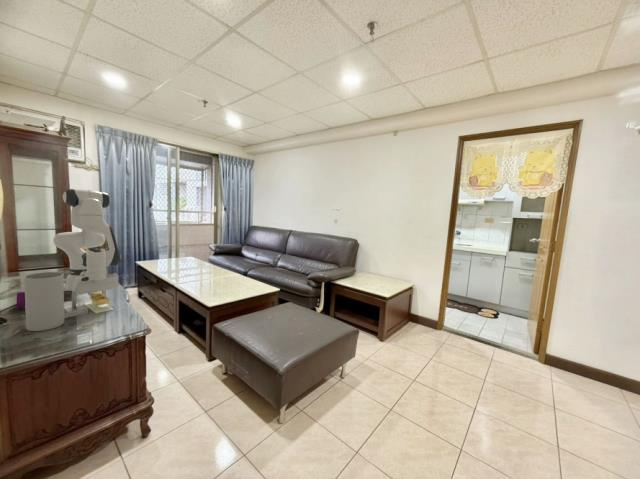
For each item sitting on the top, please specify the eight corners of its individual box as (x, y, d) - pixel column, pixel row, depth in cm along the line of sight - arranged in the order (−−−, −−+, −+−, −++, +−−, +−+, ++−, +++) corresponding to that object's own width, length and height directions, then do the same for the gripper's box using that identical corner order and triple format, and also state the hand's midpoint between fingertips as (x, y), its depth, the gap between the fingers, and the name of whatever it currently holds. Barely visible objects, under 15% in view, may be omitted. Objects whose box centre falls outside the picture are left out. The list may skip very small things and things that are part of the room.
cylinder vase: (23, 326, 120) (21, 274, 118) (59, 318, 131) (58, 270, 128) (29, 334, 114) (28, 280, 111) (68, 325, 124) (67, 275, 122)
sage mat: (84, 304, 150) (84, 303, 150) (101, 300, 157) (101, 300, 157) (95, 313, 139) (95, 312, 139) (113, 309, 146) (113, 309, 146)
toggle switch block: (55, 308, 141) (55, 287, 140) (77, 304, 148) (77, 284, 147) (64, 318, 131) (64, 295, 130) (87, 313, 139) (87, 292, 137)
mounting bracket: (20, 312, 145) (16, 308, 133) (20, 298, 147) (16, 292, 135) (44, 309, 152) (43, 305, 140) (44, 295, 154) (42, 289, 142)
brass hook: (86, 299, 150) (86, 288, 150) (99, 296, 155) (99, 286, 155) (95, 306, 142) (95, 295, 141) (109, 303, 147) (108, 292, 146)
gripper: (116, 271, 158) (116, 293, 159) (71, 277, 141) (71, 301, 142) (120, 273, 155) (120, 295, 156) (74, 279, 138) (75, 304, 139)
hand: (96, 298), depth 149 cm, fingers closed on brass hook, 3 cm apart
